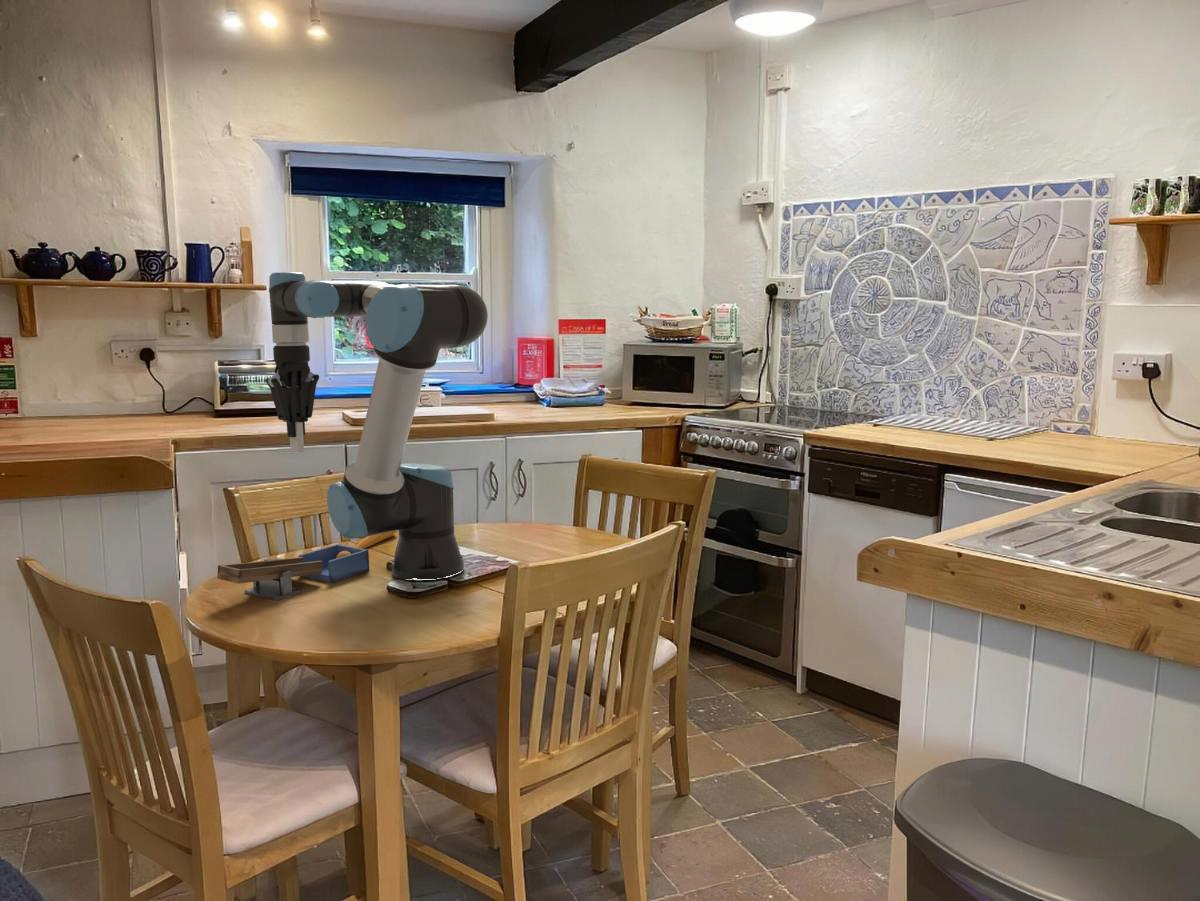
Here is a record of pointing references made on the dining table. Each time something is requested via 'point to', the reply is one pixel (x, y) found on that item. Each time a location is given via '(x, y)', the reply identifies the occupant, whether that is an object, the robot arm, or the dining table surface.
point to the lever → (267, 569)
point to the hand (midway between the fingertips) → (297, 451)
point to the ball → (343, 554)
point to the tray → (338, 562)
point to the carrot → (374, 539)
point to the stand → (274, 588)
